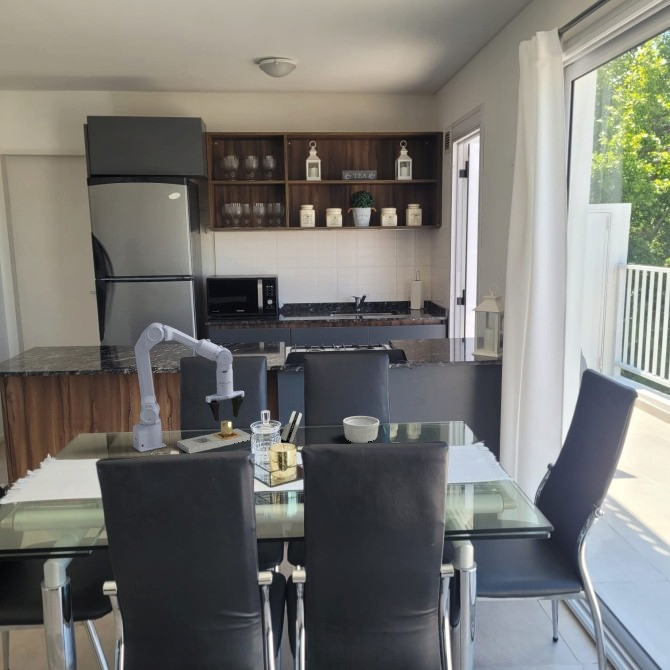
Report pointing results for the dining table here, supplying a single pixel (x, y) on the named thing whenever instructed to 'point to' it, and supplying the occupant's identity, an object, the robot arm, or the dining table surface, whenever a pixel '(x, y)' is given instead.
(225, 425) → the peg
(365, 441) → the ramekin
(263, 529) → the dining table surface
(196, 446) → the grey rectangular board
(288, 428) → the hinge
